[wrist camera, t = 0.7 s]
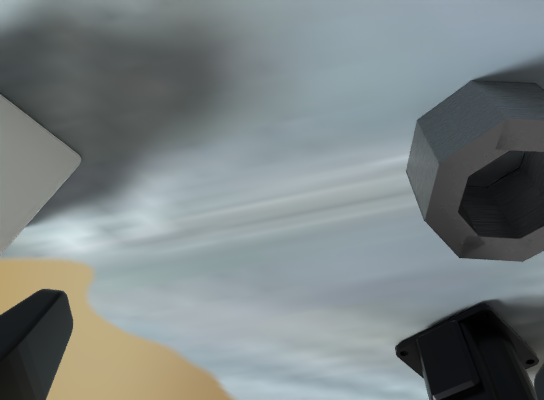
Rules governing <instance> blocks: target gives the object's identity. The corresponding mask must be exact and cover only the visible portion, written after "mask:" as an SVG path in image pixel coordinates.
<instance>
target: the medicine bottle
mask: <svg viewBox="0 0 544 400" xmlns="http://www.w3.org/2000/svg"><path fill="white" fill-rule="evenodd" d="M80 163H81V157H80V156H79V154H77V153H76V152H75V151H73V150H72V149H71V148H70V147H68V146H67V145H66V144H64V143H63V142H62V141H60V140H59V139H58V138H57V137H55V136H54V135H53V134H51V133H50V132H49V131H47V130H46V129H45V128H44V127H42V126H41V125H40V124H38V123H37V122H36V121H35V120H33V119H32V118H31V117H29V116H28V115H27V114H25V113H24V112H23V111H22V110H20V109H19V108H18V107H16V106H15V105H14V104H12V103H11V102H10V101H9V100H7V99H6V98H5V97H3V96H2V95H1V94H0V255H1V254H2V253H3V252H4V251H5V249H6V248H7V247H8V246H9V245H10V244H11V243H12V241H13V240H14V239H15V238H16V237H17V236H18V235H19V233H20V232H21V231H22V230H23V229H24V228H25V227H26V226H27V224H28V223H29V222H30V221H31V220H32V219H33V218H34V216H35V215H36V214H37V213H38V212H39V211H40V210H41V208H42V207H43V206H44V205H45V204H46V203H47V202H48V200H49V199H50V198H51V197H52V196H53V195H54V194H55V192H56V191H57V190H58V189H59V188H60V187H61V186H62V184H63V183H64V182H65V181H66V180H67V179H68V178H69V176H70V175H71V174H72V173H73V172H74V171H75V170H76V168H77V167H78V166H79V165H80Z"/></svg>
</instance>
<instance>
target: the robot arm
mask: <svg viewBox="0 0 544 400" xmlns="http://www.w3.org/2000/svg"><path fill="white" fill-rule="evenodd" d="M72 329H73V318H72V314H71V310H70V306H69V301H68V297H67V294H66V293H65V292H64V291H60V290H51V289H42V290H39V291H37V292H36V293H34V294H32V295H31V296H30V297H28V298H26V299H25V300H23V301H22V302H20V303H18V304H17V305H15V306H14V307H12V308H11V309H9V310H8V311H6V312H5V313H3V314H1V315H0V400H46V398H47V395H48V393H49V390H50V388H51V385H52V382H53V380H54V377H55V375H56V372H57V370H58V367H59V364H60V362H61V359H62V357H63V354H64V351H65V349H66V346H67V343H68V341H69V339H70V336H71V333H72ZM395 351H396V355H397V357H398V358H400V359H401V360H402V361H403V362H404V363H406V364H407V365H408V366H409V367H410V368H412V369H413V370H414V371H415V372H416V373H418V374H419V375H420V376H421V377H422V378H424V380H425V384H426V388H427V393H428V397H429V400H544V364H543V365H542V367H541V368H540V370H539V371H538V373H537V374H536V376H535V380H534V386H533V384H532V382H531V380H530V378H529V376H528V374H527V371H526V369H527V368H530V367H532V366H535V365H537V364H538V362H539V360H538V358H537V356H536V354H535V352H534V351H533V350H532V349H531V348H530V347H529V346H528V345H527V344H526V343H525V342H524V341H523V340H522V339H521V338H520V337H519V336H518V335H517V334H516V333H515V332H514V331H513V329H512V328H511V327H510V326H509V325H508V324H507V323H506V322H505V321H504V320H503V319H502V318H501V317H500V316H499V315H498V314H497V313H496V312H495V311H494V310H493V309H492V308H491V307H490V306H489V305H487V304H481V305H478V306H476V307H474V308H472V309H470V310H468V311H465V312H463V313H461V314H459V315H457V316H455V317H453V318H451V319H449V320H447V321H445V322H443V323H441V324H439V325H437V326H435V327H433V328H431V329H429V330H427V331H425V332H423V333H420V334H418V335H416V336H414V337H412V338H410V339H408V340H406V341H404V342H402V343H400V344H398V345H397V346H396V347H395Z"/></svg>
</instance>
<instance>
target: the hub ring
mask: <svg viewBox="0 0 544 400" xmlns="http://www.w3.org/2000/svg"><path fill="white" fill-rule="evenodd" d="M510 150H514V151H526V152H525V155H524V158H523V160H522V163H521V165H520V168H518V169H517V170H515V171H513V172H512V173H510V174H508V175H507V176H505V177H503V178H502V179H500V180H498V181H497V182H495V183H493V184H492V185H490V186H489V187H471V186H466V183H467V180H468V176H470V175H472V174H473V173H475V172H476V171H478V170H480V169H481V168H483V167H484V166H486V165H487V164H489V163H491V162H492V161H494V160H495V159H497V158H499V157H500V156H502V155H503V154H505V153H506V152H508V151H510ZM406 173H407V176H408V178H409V181H410V184H411V186H412V189H413V192H414V195H415V197H416V200H417V203H418V205H419V208H420V211H421V213H422V216H423V219H424V221H425V222H426V223H427V224H428V225H429V226H430V227H431V228H432V229H433V230H434V231H435V232H436V233H437V234H438V236H439V237H440V238H441V239H442V240H443V241H444V242H445V243H446V244H447V245H448V246H449V247H450V248H451V249H452V250H453V252H454V253H455V254H456V255H457V256H458V257H459V258H469V259H487V260H505V261H522V262H523V261H525V260H527V259H529V258H531V257H533V256H534V255H536V254H538V253H540V252H542V251H544V90H543V89H542V88H541V87H540V86H538V85H537V84H536V83H512V82H486V81H470V82H469V83H467V84H466V85H465V86H463V87H462V88H461V89H459V90H458V91H456V92H455V93H454V94H452V95H451V96H450V97H448V98H447V99H445V100H444V101H443V102H441V103H440V104H439V105H437V106H436V107H435V108H433V109H432V110H430V111H429V112H428V113H426V114H425V115H424V116H422V117H421V118H420V119H418V120H417V123H416V128H415V133H414V137H413V142H412V147H411V151H410V156H409V160H408V165H407V170H406Z"/></svg>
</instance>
